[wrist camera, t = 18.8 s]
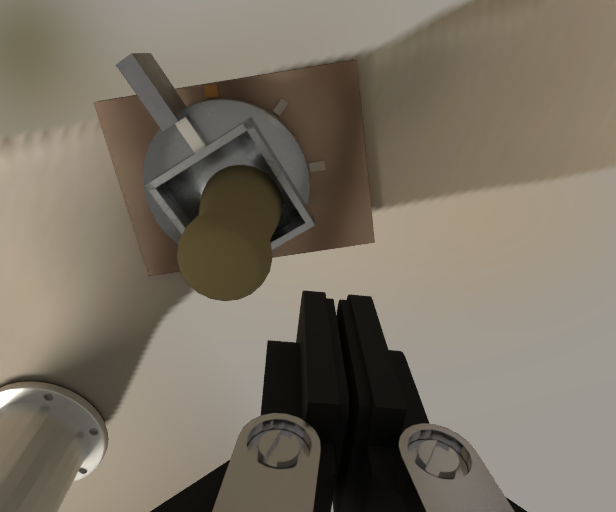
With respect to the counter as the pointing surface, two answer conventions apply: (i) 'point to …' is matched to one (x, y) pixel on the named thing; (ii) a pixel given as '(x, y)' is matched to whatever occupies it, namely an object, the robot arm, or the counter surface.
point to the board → (306, 127)
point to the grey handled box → (213, 151)
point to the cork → (231, 234)
